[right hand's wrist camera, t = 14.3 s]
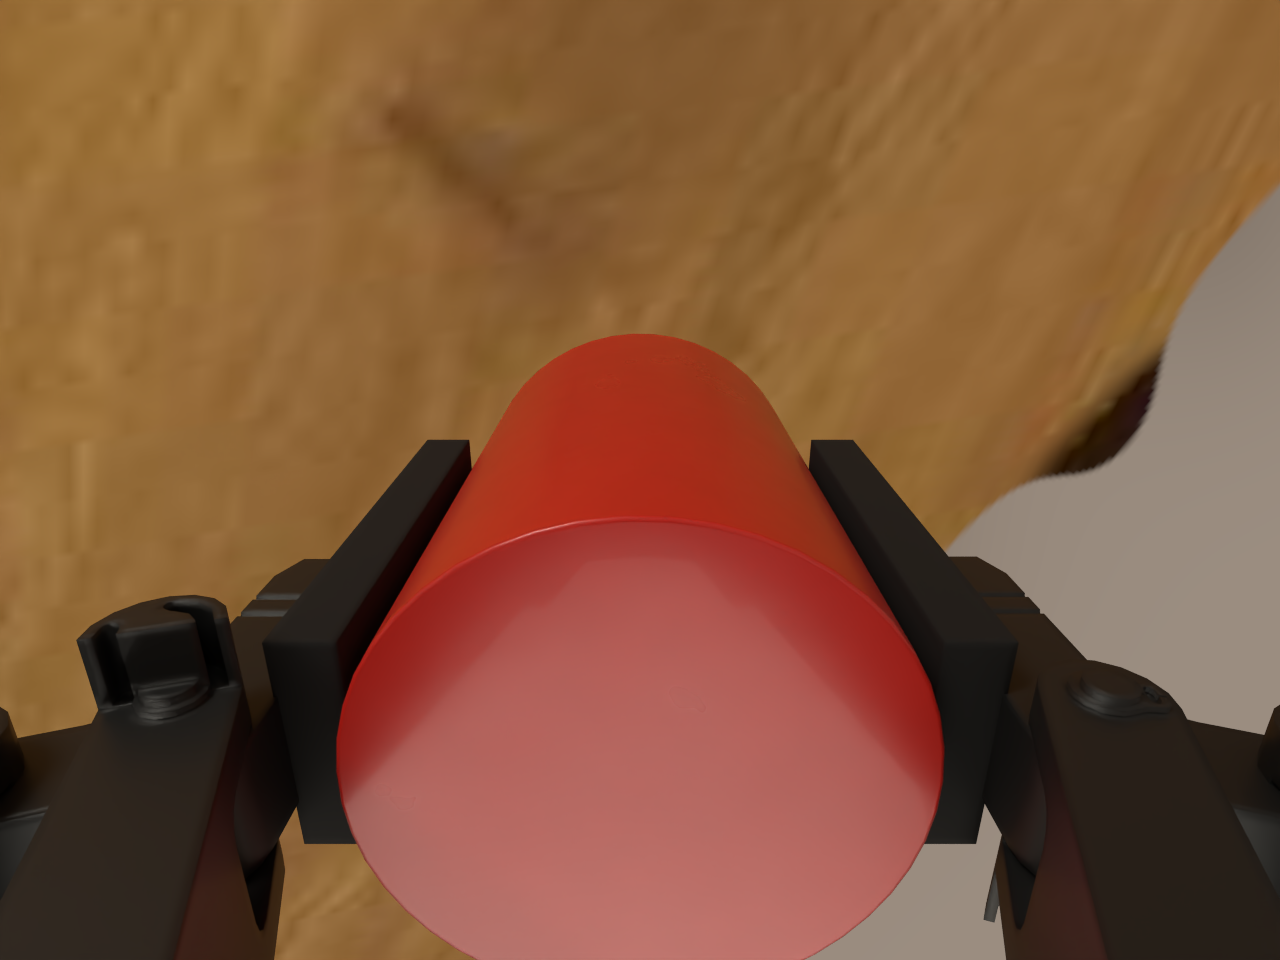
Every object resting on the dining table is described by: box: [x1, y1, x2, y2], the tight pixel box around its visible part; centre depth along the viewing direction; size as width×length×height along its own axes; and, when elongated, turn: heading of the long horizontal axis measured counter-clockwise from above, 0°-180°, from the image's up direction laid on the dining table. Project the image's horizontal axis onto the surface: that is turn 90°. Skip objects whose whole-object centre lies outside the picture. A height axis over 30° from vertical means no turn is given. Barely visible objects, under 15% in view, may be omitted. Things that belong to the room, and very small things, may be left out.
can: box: [336, 334, 945, 960], centre depth 12 cm, size 6×6×9 cm
